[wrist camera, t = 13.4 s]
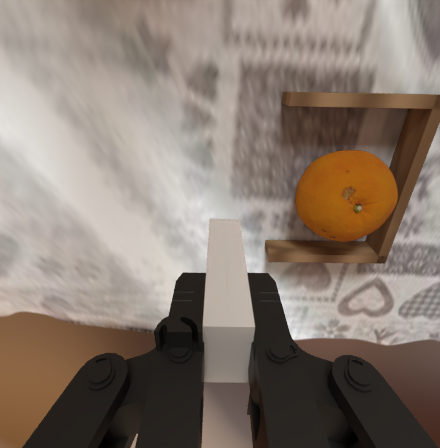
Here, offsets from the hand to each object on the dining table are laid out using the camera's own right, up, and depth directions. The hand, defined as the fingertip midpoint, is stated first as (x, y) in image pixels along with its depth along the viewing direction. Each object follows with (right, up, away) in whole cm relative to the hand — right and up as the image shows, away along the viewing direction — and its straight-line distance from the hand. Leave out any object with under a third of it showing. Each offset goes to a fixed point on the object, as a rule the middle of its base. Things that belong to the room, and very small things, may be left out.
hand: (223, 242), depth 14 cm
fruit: (+14, +6, +20) cm, 25 cm away
